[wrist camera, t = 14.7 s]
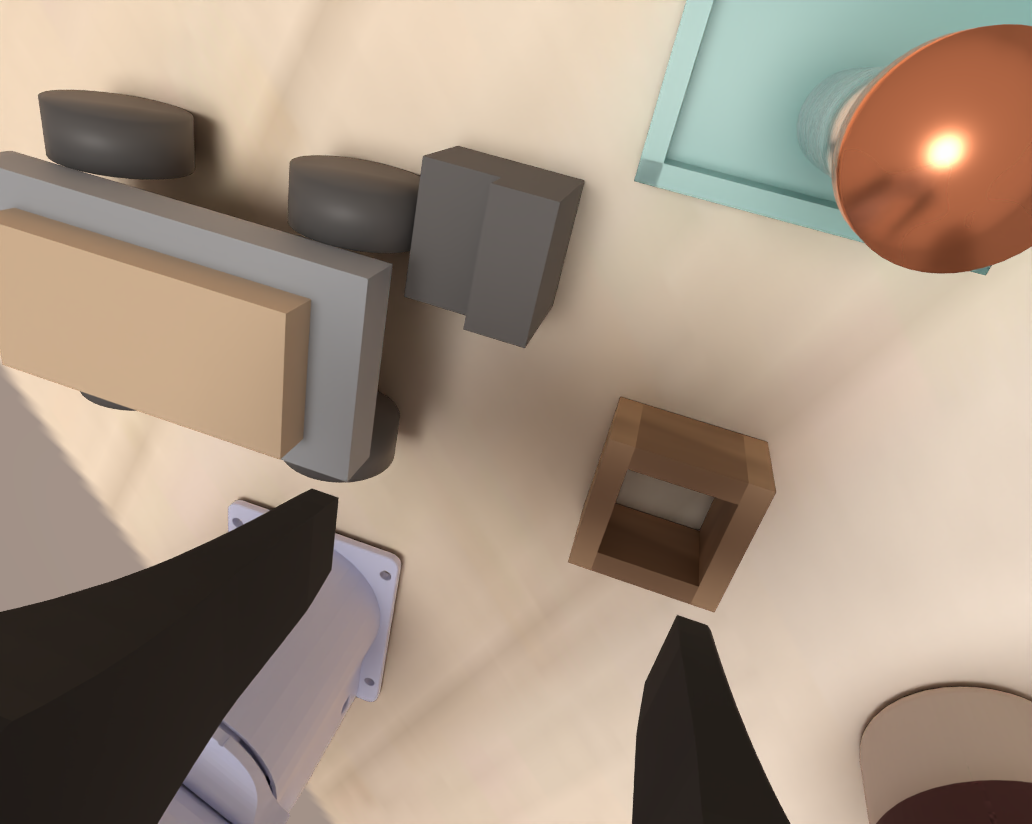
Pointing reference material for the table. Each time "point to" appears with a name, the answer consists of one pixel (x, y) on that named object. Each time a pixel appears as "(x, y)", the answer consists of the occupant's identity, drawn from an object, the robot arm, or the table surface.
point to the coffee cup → (949, 759)
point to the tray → (779, 93)
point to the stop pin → (932, 149)
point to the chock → (490, 240)
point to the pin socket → (660, 543)
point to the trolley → (203, 287)
